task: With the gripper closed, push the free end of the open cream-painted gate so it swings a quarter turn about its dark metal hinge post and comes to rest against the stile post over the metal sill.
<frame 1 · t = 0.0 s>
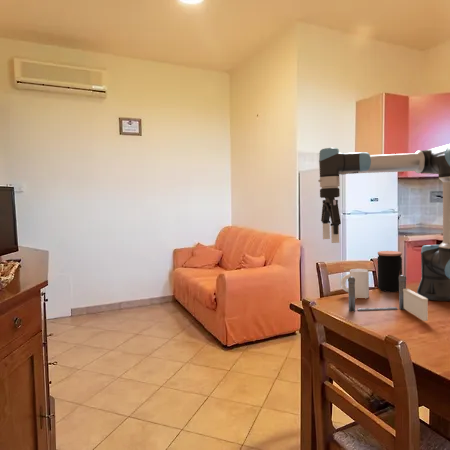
hand: (330, 240, 149), 28 cm above the table, fingers open, 13 cm apart
coffee jar: (389, 289, 178), on the table
posts and sill: (402, 308, 147), on the table
gate: (414, 303, 137), point 5 cm above the table, hinge at 90.0°
mug: (354, 296, 169), on the table
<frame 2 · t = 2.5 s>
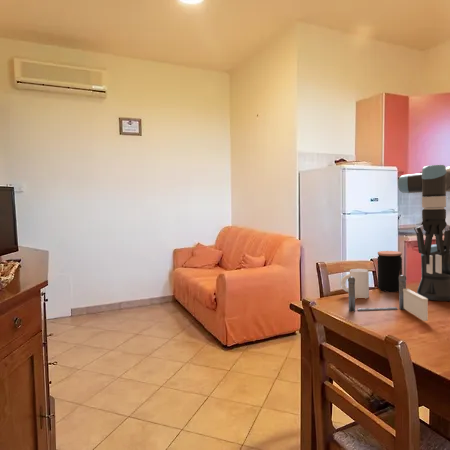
hand: (434, 272, 135), 17 cm above the table, fingers open, 3 cm apart
nothing on the table moved.
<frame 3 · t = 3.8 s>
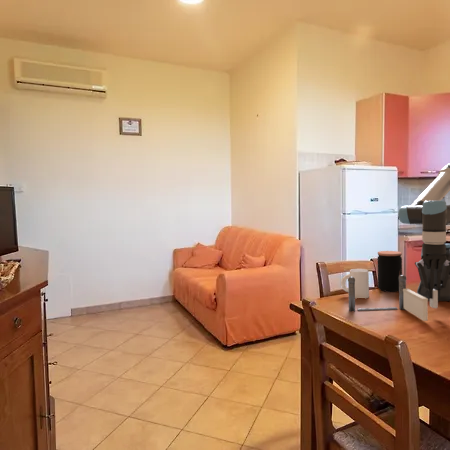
hand: (433, 307, 136), 4 cm above the table, fingers closed
nothing on the table moved.
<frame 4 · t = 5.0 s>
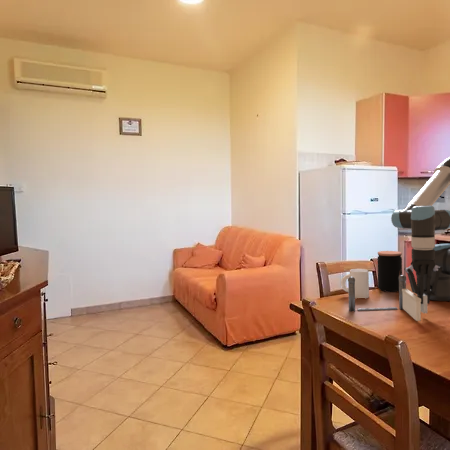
hand: (423, 312, 136), 2 cm above the table, fingers closed
gate: (411, 303, 137), point 5 cm above the table, hinge at 82.2°, touching gripper
everything else where it was.
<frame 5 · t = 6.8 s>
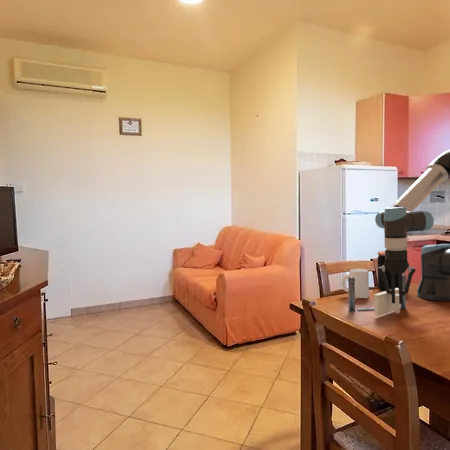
hand: (397, 312, 138), 2 cm above the table, fingers closed
gate: (388, 301, 142), point 5 cm above the table, hinge at 35.5°, touching gripper
everything else where it was.
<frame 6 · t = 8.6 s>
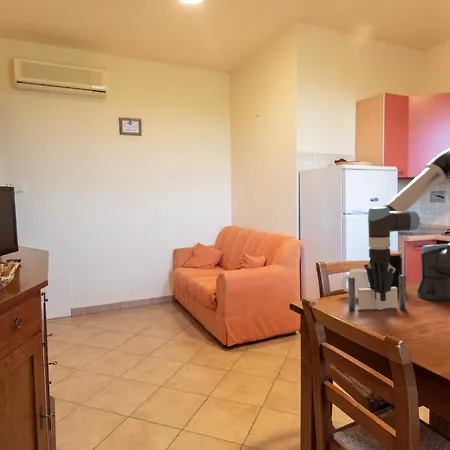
hand: (380, 308, 143), 2 cm above the table, fingers closed
gate: (377, 298, 147), point 5 cm above the table, hinge at 3.7°, touching gripper
everything else where it was.
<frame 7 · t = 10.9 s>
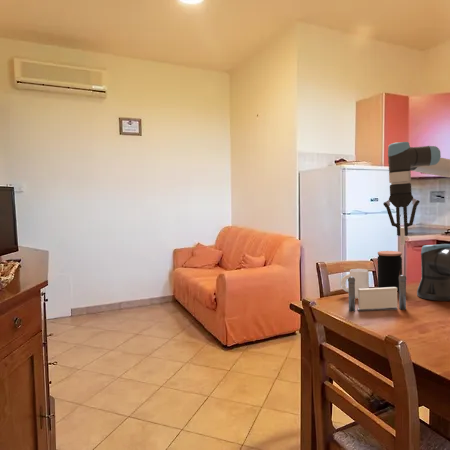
hand: (402, 243, 144), 26 cm above the table, fingers closed
gate: (377, 298, 147), point 5 cm above the table, hinge at 3.6°
everything else where it was.
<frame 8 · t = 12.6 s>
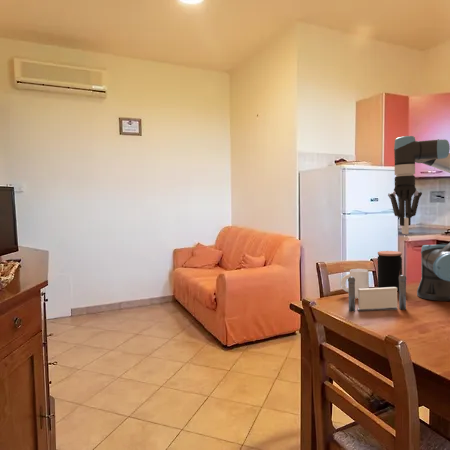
hand: (405, 233, 151), 29 cm above the table, fingers closed
nothing on the table moved.
at the end: gate at +4° (first picture: +90°); the gripper is holding nothing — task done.
